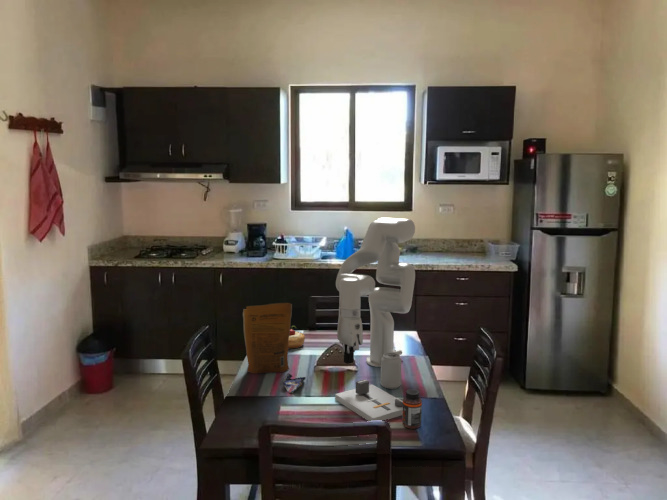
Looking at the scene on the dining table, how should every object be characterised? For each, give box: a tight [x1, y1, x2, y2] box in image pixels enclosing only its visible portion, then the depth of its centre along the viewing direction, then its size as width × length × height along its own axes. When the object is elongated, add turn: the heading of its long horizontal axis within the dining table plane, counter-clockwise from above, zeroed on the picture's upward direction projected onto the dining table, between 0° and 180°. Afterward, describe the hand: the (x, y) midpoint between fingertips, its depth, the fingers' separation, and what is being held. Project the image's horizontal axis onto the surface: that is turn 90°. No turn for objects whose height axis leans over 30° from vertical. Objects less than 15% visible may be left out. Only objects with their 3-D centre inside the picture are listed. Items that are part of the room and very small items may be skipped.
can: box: [380, 353, 402, 390], centre depth 208 cm, size 8×8×12 cm
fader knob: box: [355, 379, 370, 395], centre depth 197 cm, size 4×2×4 cm, turn 123°
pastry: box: [288, 325, 306, 350], centre depth 253 cm, size 12×12×9 cm
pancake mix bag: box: [242, 302, 293, 375], centre depth 220 cm, size 7×19×28 cm, turn 98°
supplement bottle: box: [402, 388, 423, 429], centre depth 178 cm, size 6×6×11 cm
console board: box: [334, 384, 403, 422], centre depth 192 cm, size 16×22×4 cm
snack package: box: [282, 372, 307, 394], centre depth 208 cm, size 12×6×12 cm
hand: (348, 362), depth 202 cm, fingers closed
